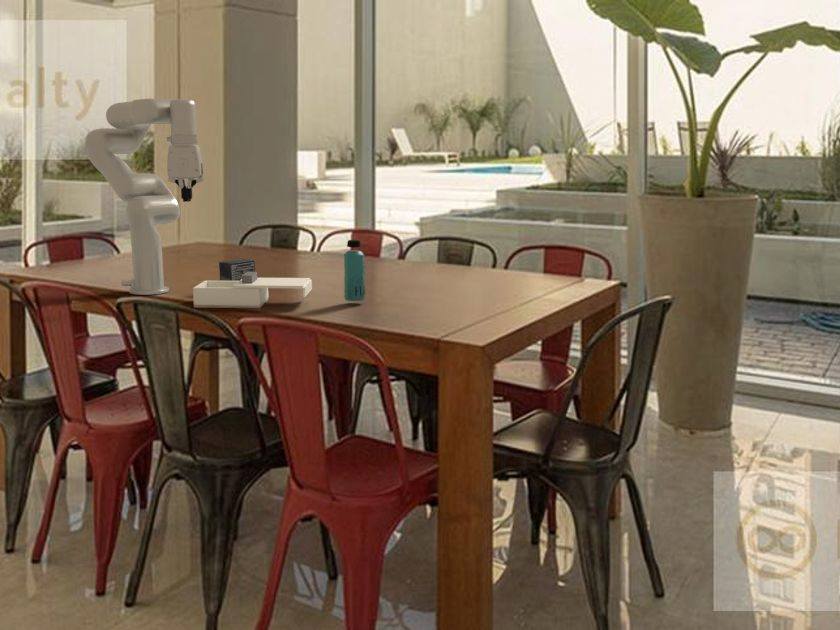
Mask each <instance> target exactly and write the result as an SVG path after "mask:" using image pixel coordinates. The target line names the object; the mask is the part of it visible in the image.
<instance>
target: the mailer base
mask: <svg viewBox="0 0 840 630" xmlns="http://www.w3.org/2000/svg"><path fill="white" fill-rule="evenodd" d="M237 282H238V281H220V280H203V281H202V282H200V283H198V284H197V285H196V286H193V287H192V291H193V292H192V293H193V295H192V296H193V308H202V309H203V308H205V309H206V308H213V309H214V308H215V309H216V308H217V309H219V308H220V309H223V308H224V309H226V308H227V309H261V308H262V307H263V306H264V305H265V304H266V303H267V302H268V301H269V288H233V285H234V284H235V283H237ZM265 302H266V303H265ZM264 303H265V304H264Z"/></svg>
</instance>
